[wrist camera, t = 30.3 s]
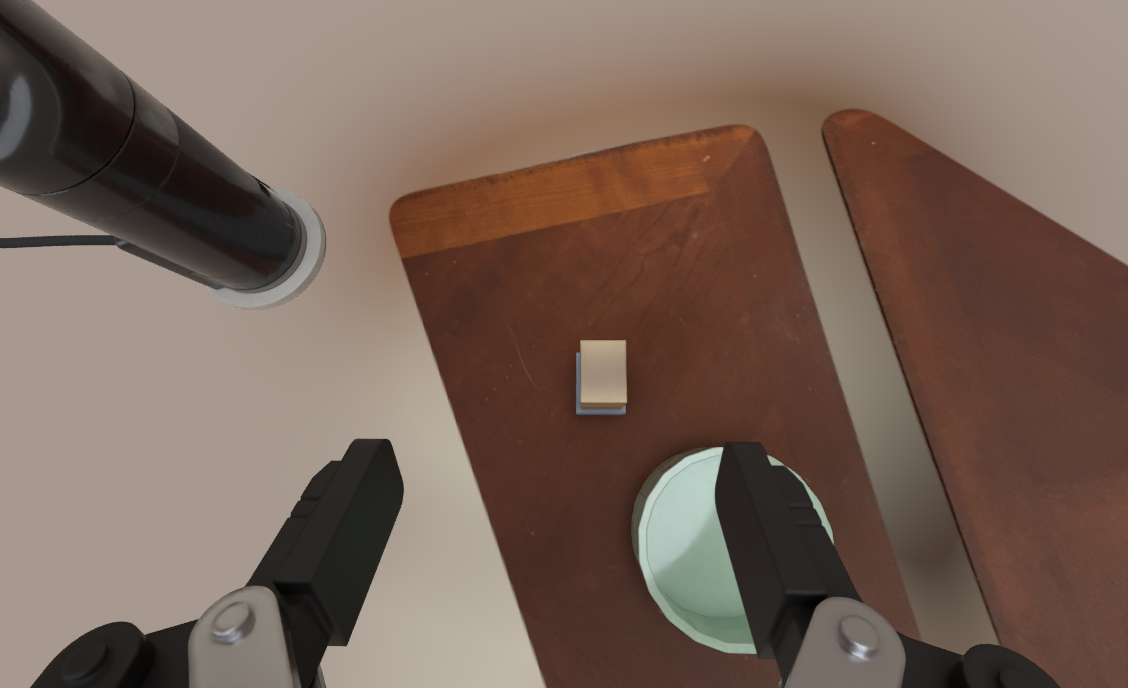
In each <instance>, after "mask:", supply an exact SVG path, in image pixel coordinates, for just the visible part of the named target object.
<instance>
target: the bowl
mask: <svg viewBox="0 0 1128 688" xmlns="http://www.w3.org/2000/svg"><path fill="white" fill-rule="evenodd" d="M722 452H723V447H697V448H694V449H691V450H687V451H684V452H681V453H679V454H676V455H674V456H672V457H671V458H669V459H667V460H666V461H664V462H663V463H662V464H660V465H659V466H658V467H657V468H656V469H655V470H654V471H653V472H652V473H651V474H650V475H649V477H648V478H647V480H646V481H645V482H644V484H643V486H642V488H641V489H640V491H639V493H638V496H637V499H636V501H635V504H634V509H633V513H632V519H631V537H632V546H633V547H632V548H633V551H634V554H635V557H636V560H637V563H638V566H639V569H640V572H641V575H642V577H643V579H644V581H645V584H646V586H647V588H648V590H649V592H650V594H651V596H652V597H653V598H654V600H655V601H656V603H657V604H658V606H659V607H660V609H661V610H662V611H663V613H664V614H665V616H666V617H667V619H668V620H669V621H670V622H671V623H673V624H674V625H675V626H676V627H678V628H679V629H680V630H682V631H683V632H684V633H685V634H687V635H688V636H689V637H690V638H692V639H693V640H694V641H696V642H698V643H701V644H704V645H706V646H709V647H712V648H714V649H717V650H720V651H722V652H726V653H747V654H757V653H756V649H755V646H754V642H753V639H752V635H751V632H750V628H749V624H748V621H747V617H746V614H745V610H744V607H743V603H742V600H741V596H740V593H739V589H738V585H737V582H736V578H735V575H734V571H733V568H732V564H731V561H730V557H729V554H728V550H727V546H726V543H725V539H724V536H723V532H722V529H721V525H720V522H719V518H718V515H717V511H716V505H715V484H716V479H717V475H718V470H719V465H720V461H721V456H722ZM767 457H768V459H769V461H770V463H771V465H784V464H782V463H781V462H779V461H778V460H777V459H775V458H774V457H772V456H769V455H767ZM786 467H787V466H786ZM787 468H788V467H787ZM788 469H789V468H788ZM789 470H790V471H791V472H792V473H793V474H794V475H795V476H796V477H797V478H798V479H799V480H800V481H801V482H802V483H803V484H804V486H805V488H806V490H807V492H808V494H809V496H810V498H811V500H812V502H813V507H814V509H816V510H817V512H818V515H819V517H820V519H821V521H822V526H824V527H825V529H826V531H827V533H828V535H829V537H830V539H831V541H832V543H833V534H832V529H831V527H830V525H829V522H828V520H827V517H826V515H825V513H824V510H823V508H822V506H821V503H820V501H819V499H818V498H817V497H816V496H815V494H814V493H813V492H812V491H811V490H810V488H809V487H808V486H807V485H806V483H805V482H804V481H803V480H802V478H801V477H800V476H799V475H798V474H797V473H795V472H794V471H792V470H791V469H789ZM833 545H834V543H833Z"/></svg>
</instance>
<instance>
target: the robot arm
mask: <svg viewBox="0 0 1128 688" xmlns="http://www.w3.org/2000/svg"><path fill="white" fill-rule="evenodd" d="M259 182H260V183H259ZM261 183H262V184H263V185H265V186H266V187H268V188H269V189H271V188H270V187H269V186H267V185H266V184H264V183H263V182H261V181H260V180H258V179H257V178H255V177H254V176H252V175H251V174H249V173H248V172H246V171H245V170H243V169H242V168H241V167H240V166H238V165H237V164H236V163H235V162H233V161H232V160H231V159H230V158H228V157H227V156H226V155H225V154H224V153H222V152H221V151H220V150H219V149H217V148H216V147H215V146H214V145H212V144H211V143H210V142H209V141H208V140H206V139H205V138H204V137H203V136H201V135H200V134H199V133H198V132H196V131H195V130H194V129H193V128H192V127H190V126H189V125H188V124H187V123H185V122H184V121H183V120H182V119H180V118H179V117H178V116H177V115H175V114H174V113H173V112H172V111H171V110H169V109H168V108H167V107H165V106H164V105H163V104H162V103H160V102H159V101H158V100H157V99H155V98H154V97H153V96H152V95H151V94H149V93H148V92H147V91H146V90H144V89H143V88H142V87H141V86H139V85H138V84H137V83H136V82H135V81H133V80H132V79H131V78H130V77H128V76H127V75H126V74H125V73H123V72H122V71H121V70H119V69H118V68H117V67H116V66H115V65H114V64H112V63H111V62H110V61H109V60H107V59H106V58H105V57H104V56H102V55H101V54H100V53H98V52H97V51H96V50H95V49H93V48H92V47H91V46H89V45H88V44H87V43H85V42H84V41H83V40H82V39H80V38H79V37H78V36H76V35H75V34H74V33H73V32H71V31H70V30H69V29H68V28H66V27H65V26H64V25H62V24H61V23H60V22H59V21H57V20H56V19H55V18H54V17H52V16H51V15H50V14H48V13H47V12H46V11H45V10H44V9H42V8H41V7H40V6H38V5H37V4H36V3H35V2H34V1H32V0H0V186H2V187H4V188H6V189H9V190H11V191H14V192H16V193H19V194H21V195H23V196H25V197H27V198H30V199H32V200H34V201H36V202H39V203H41V204H43V205H45V206H47V207H50V208H52V209H54V210H57V211H59V212H61V213H63V214H65V215H68V216H70V217H73V218H75V219H77V220H79V221H81V222H84V223H86V224H88V225H90V226H93V227H95V228H97V229H100V230H102V231H104V232H106V233H108V234H110V235H111V236H110V235H108V236H107V235H100V236H99V235H77V236H76V235H74V236H44V237H22V238H0V248H18V247H19V248H21V247H41V246H68V245H117V246H118V248H120V249H122V250H124V251H126V252H128V253H131V254H133V255H135V256H138V257H140V258H143V259H145V260H147V261H149V262H152V263H154V264H156V265H159V266H161V267H163V268H166V269H168V270H171V271H173V272H175V273H178V274H180V275H182V276H185V277H187V278H190V279H192V280H194V281H196V282H199V283H201V284H204V285H206V286H208V287H211V288H213V289H215V290H218V289H222V288H228V289H230V290H232V291H235V292H239V293H245V294H254V293H261V292H265V291H268V290H271V289H273V288H275V287H277V286H278V285H280V284H282V283H283V282H285V281H286V280H287V279H288V278H289V277H290V276H291V275H292V274H293V273H294V272H295V271H296V269H297V268H298V267H299V265H300V263H301V261H302V259H303V257H304V254H305V251H306V246H307V232H306V228H305V225H304V222H303V220H302V218H301V217H300V215H299V214H298V213H297V212H296V211H295V210H294V209H293V208H292V207H291V206H289V205H288V204H287V203H285V202H283V201H282V200H280V199H279V198H278V197H276V196H275V195H274V194H273V193H271V192H270V191H269V190H268V189H267V188H266V187H264V186H263V185H262V184H261ZM271 190H272V191H274V190H273V189H271ZM274 192H275V191H274ZM275 193H276V192H275ZM277 194H278V193H277ZM403 492H404V486H403V480H402V476H401V474H400V470H399V467H398V464H397V460H396V457H395V454H394V450H393V447H392V444H391V442H390V441H389V440H388V439H355V440H354V441H353V442H352V443H351V444H350V446H349V448H348V449H347V451H346V453H345V455H344V457H343V458H342V460H341V461H331V462H330V463H329V464H327V465H326V466H325V467H324V468H323V469H322V470H321V471H319V472H318V473H317V474H316V475H315V476H314V477H313V478H312V479H311V481H310V483H309V484H308V486H307V487H306V489H305V491H304V492H303V494H302V496H301V500H300V501H298V502H297V504H296V505H295V507H294V509H293V510H292V512H291V516H290V518H287V520H286V522H285V523H284V525H283V526H282V528H281V530H280V531H279V533H278V535H277V536H276V538H275V540H274V541H273V543H272V545H271V546H270V548H269V549H268V551H267V553H266V554H265V556H264V557H263V559H262V561H261V562H260V564H259V565H258V567H257V569H256V570H255V572H254V573H253V575H252V577H251V579H250V580H249V582H248V583H247V584H246V585H245V587H243V588H240V589H237V590H235V591H233V592H230V593H229V594H227V595H225V596H223V597H222V598H221V599H219V600H218V601H216V602H215V603H214V604H213V605H212V606H210V608H208V609H207V610H206V611H205V612H204V614H203V615H202V616H201V617H200V619H197V620H194V621H191V622H187V623H184V624H180V625H177V626H174V627H170V628H166V629H163V630H160V631H156V632H153V633H149V634H146V635H144V634H143V633H142V632H141V631H140V630H139V629H138V628H137V627H136V626H135V625H133V624H132V623H128V622H113V623H109V624H106V625H103V626H100V627H98V628H95V629H94V630H91V631H90V632H88V633H86V634H84V635H82V636H81V637H79V638H78V639H76V640H75V641H74V642H72V643H71V644H70V645H68V646H67V647H66V648H65V649H63V650H62V651H61V652H60V653H59V654H58V655H57V656H56V657H55V658H54V659H53V660H52V661H51V663H50V664H49V665H48V666H47V667H46V669H45V670H44V671H43V672H42V674H41V675H40V676H39V677H38V679H37V680H36V681H35V682H34V684H33V685H32V686H31V687H30V688H326V685H325V681H324V677H323V673H322V669H321V666H320V662H321V659H322V657H323V655H324V653H325V650H326V648H327V646H347V644H348V642H349V639H350V637H351V634H352V631H353V629H354V626H355V624H356V621H357V619H358V616H359V613H360V611H361V608H362V606H363V603H364V600H365V598H366V595H367V593H368V590H369V587H370V585H371V582H372V580H373V577H374V575H375V572H376V570H377V567H378V564H379V562H380V559H381V557H382V554H383V552H384V549H385V547H386V544H387V541H388V539H389V536H390V534H391V531H392V529H393V526H394V523H395V521H396V518H397V516H398V513H399V510H400V508H401V505H402V501H403ZM715 505H716V511H717V515H718V518H719V522H720V525H721V529H722V532H723V536H724V539H725V543H726V546H727V550H728V554H729V557H730V561H731V564H732V568H733V571H734V575H735V578H736V582H737V585H738V589H739V593H740V596H741V600H742V603H743V607H744V610H745V614H746V617H747V621H748V624H749V628H750V632H751V635H752V639H753V642H754V646H755V649H756V653H757V656H758V659H776V661H777V664H778V667H779V671H780V674H781V677H782V679H781V681H780V683H779V685H778V688H1061V687H1060V686H1059V685H1058V684H1057V683H1056V682H1055V681H1054V680H1053V679H1052V678H1051V677H1050V676H1049V675H1048V674H1047V673H1046V672H1045V671H1044V670H1042V669H1041V668H1040V667H1038V666H1037V665H1036V664H1035V663H1033V662H1032V661H1030V660H1029V659H1027V658H1026V657H1024V656H1022V655H1020V654H1018V653H1016V652H1014V651H1012V650H1010V649H1007V648H1004V647H1001V646H998V645H992V644H980V645H976V646H973V647H971V648H970V649H969V650H968V651H967V652H966V653H965V654H964V655H960V654H957V653H954V652H951V651H948V650H945V649H942V648H938V647H935V646H932V645H929V644H927V643H924V642H921V641H918V640H915V639H912V638H909V637H907V636H905V635H903V634H901V633H899V632H897V631H895V630H894V629H893V627H892V626H891V625H890V624H889V623H888V621H887V620H885V619H884V618H883V617H882V616H881V615H880V614H879V613H878V612H876V611H875V610H874V609H872V608H870V607H869V606H867V605H865V604H864V603H863V601H862V600H861V598H860V597H859V595H858V593H857V591H856V589H855V587H854V585H853V583H852V581H851V579H850V577H849V575H848V573H847V571H846V569H845V567H844V565H843V563H842V561H841V559H840V557H839V555H838V553H837V551H836V549H835V547H834V545H833V543H832V541H831V539H830V537H829V535H828V533H827V531H826V529H825V527H824V526H822V521H821V519H820V517H819V515H818V512H817V510H816V509H814V507H813V502H812V500H811V498H810V496H809V494H808V492H807V490H806V488H805V486H804V484H803V483H802V482H801V481H800V480H799V479H798V478H797V477H796V476H795V475H794V474H793V473H792V472H791V471H790V470H789V469H788V468H787V467H786V466H785V465H771V463H770V461H769V459H768V457H767V454H766V452H765V450H764V448H763V446H762V444H761V443H759V442H726V443H725V445H724V447H723V452H722V456H721V461H720V465H719V470H718V475H717V479H716V484H715Z"/></svg>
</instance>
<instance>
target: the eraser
mask: <svg viewBox="0 0 1128 688" xmlns="http://www.w3.org/2000/svg"><path fill="white" fill-rule="evenodd" d="M626 403H627V368H626V341H625V340H581V341H580V353H576V414H577V415H624V414H625V413H626Z"/></svg>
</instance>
